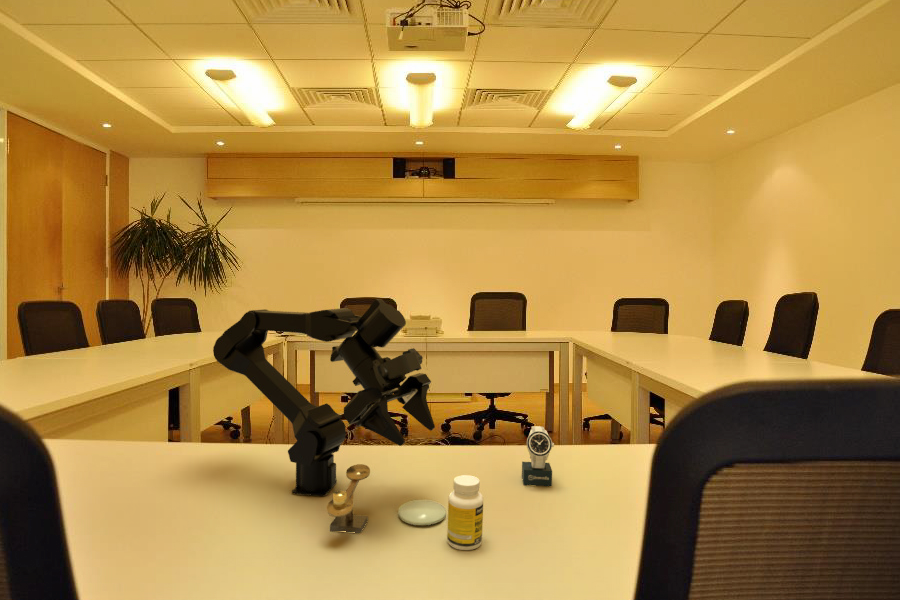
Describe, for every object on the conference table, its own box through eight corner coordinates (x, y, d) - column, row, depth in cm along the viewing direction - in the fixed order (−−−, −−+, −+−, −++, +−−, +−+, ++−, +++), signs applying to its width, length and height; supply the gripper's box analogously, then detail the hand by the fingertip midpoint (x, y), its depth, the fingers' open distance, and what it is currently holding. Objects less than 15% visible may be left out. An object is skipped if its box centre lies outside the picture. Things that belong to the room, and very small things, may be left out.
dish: (393, 525, 82) (393, 519, 82) (404, 503, 90) (404, 497, 90) (441, 529, 81) (442, 523, 81) (448, 507, 89) (448, 501, 89)
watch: (524, 489, 97) (526, 433, 97) (521, 473, 105) (522, 421, 105) (553, 490, 97) (555, 434, 96) (548, 474, 105) (549, 422, 104)
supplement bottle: (479, 553, 75) (481, 489, 74) (443, 549, 76) (445, 485, 75) (484, 535, 80) (486, 474, 80) (450, 531, 81) (452, 471, 81)
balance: (319, 546, 76) (319, 494, 75) (347, 506, 89) (347, 463, 88) (351, 549, 75) (352, 497, 75) (375, 509, 88) (375, 465, 87)
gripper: (357, 340, 78) (416, 421, 73) (422, 330, 95) (474, 395, 90) (320, 385, 83) (373, 464, 78) (388, 367, 99) (436, 432, 94)
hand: (418, 436), depth 85 cm, fingers open, 9 cm apart
